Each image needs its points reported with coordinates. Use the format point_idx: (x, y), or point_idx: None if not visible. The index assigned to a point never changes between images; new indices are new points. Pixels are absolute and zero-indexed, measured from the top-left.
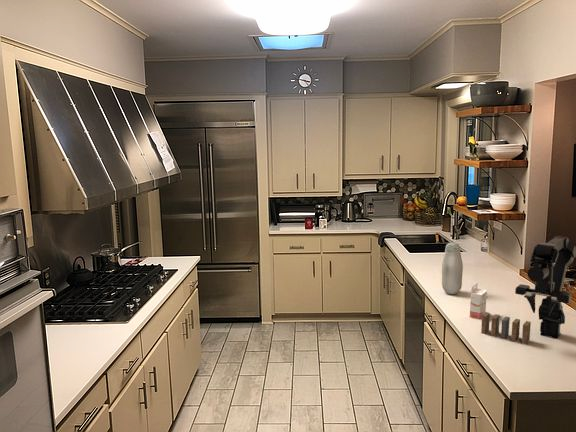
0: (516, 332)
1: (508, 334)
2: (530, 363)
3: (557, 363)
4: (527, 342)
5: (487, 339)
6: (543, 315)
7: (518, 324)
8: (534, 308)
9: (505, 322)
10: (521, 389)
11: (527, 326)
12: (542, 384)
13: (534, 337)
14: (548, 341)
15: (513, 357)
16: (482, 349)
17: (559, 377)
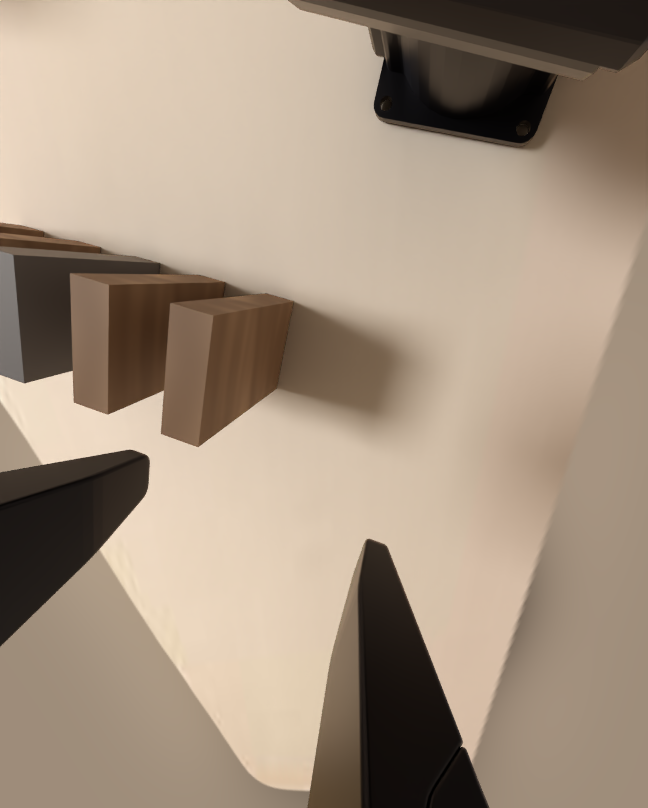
0: None
1: (154, 268)
2: (308, 616)
3: (442, 596)
4: (281, 356)
5: None
6: (348, 17)
7: (138, 334)
8: (69, 552)
9: (38, 378)
10: (285, 784)
11: (205, 435)
12: None
13: (327, 215)
14: (432, 257)
15: (232, 572)
16: None
17: None
